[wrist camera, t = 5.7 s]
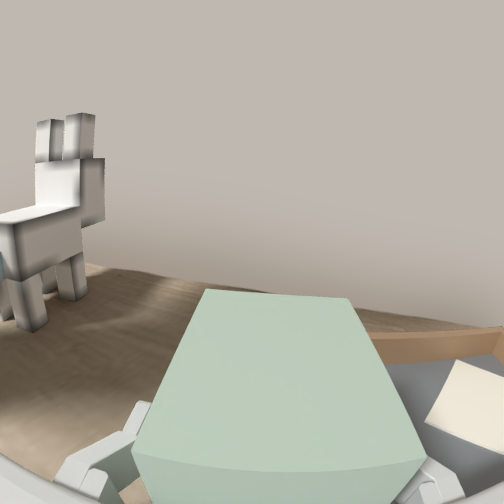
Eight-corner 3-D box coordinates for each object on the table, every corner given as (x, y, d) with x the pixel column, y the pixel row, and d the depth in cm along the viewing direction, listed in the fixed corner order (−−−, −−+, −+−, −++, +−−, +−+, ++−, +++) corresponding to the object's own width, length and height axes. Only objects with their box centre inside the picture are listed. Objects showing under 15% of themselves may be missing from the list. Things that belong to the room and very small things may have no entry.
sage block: (189, 568, 7) (131, 451, 4) (210, 457, 13) (205, 288, 11) (311, 573, 6) (427, 456, 4) (304, 462, 13) (347, 297, 10)
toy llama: (-24, 325, 20) (-45, 119, 14) (66, 271, 37) (62, 124, 31) (16, 345, 19) (-7, 100, 14) (109, 278, 36) (107, 117, 30)
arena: (367, 557, 7) (395, 536, 6) (325, 364, 22) (332, 331, 21) (576, 455, 6) (599, 424, 5) (491, 352, 22) (501, 326, 21)
